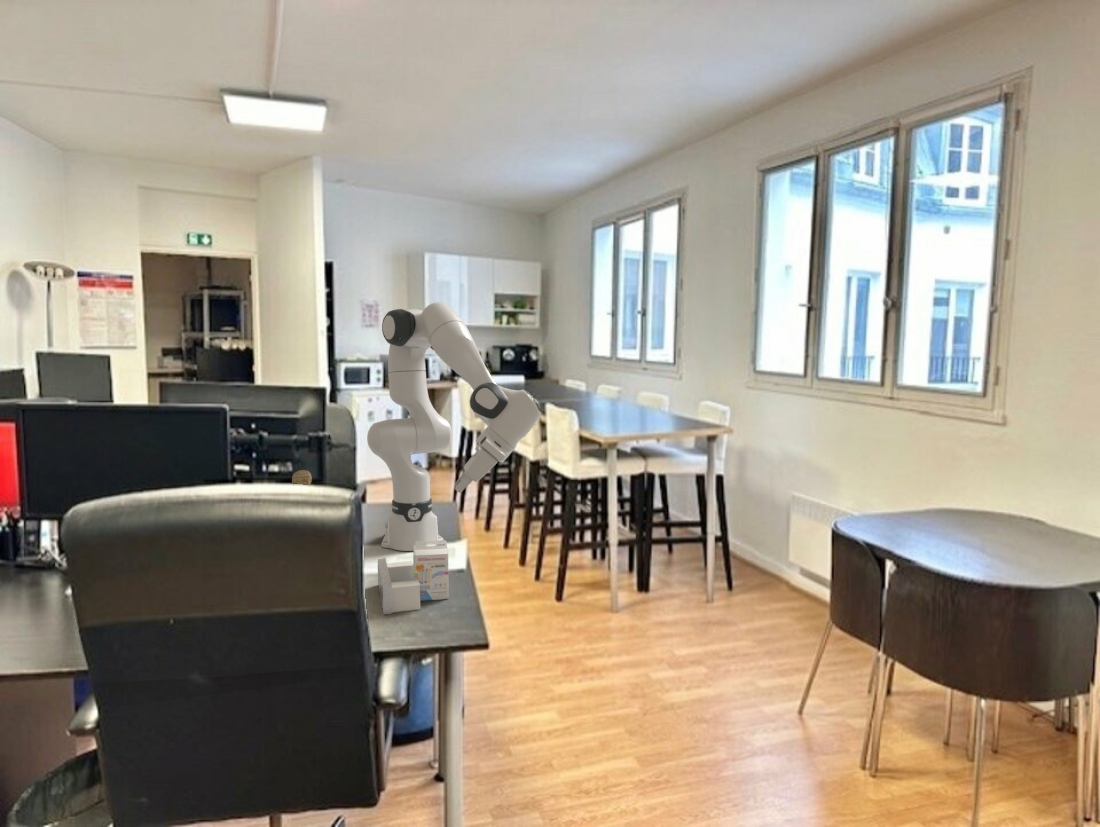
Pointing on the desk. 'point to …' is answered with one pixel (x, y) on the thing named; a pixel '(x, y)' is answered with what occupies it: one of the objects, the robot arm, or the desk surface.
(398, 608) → the box
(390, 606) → the rail
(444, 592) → the ink box
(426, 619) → the desk surface
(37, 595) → the desk surface
